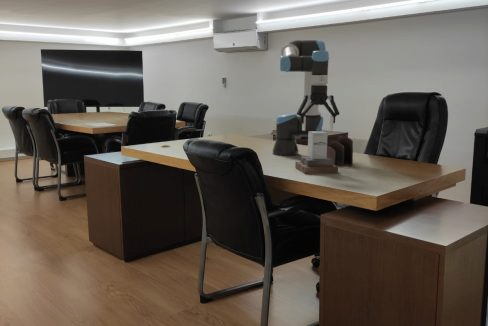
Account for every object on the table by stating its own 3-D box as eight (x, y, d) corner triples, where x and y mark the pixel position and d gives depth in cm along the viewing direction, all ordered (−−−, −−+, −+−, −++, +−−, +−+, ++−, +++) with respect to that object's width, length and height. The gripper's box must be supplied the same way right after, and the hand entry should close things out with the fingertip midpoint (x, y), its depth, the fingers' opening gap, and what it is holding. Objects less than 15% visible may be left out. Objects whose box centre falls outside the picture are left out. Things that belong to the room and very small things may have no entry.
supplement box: (311, 159, 223) (312, 132, 221) (307, 157, 230) (308, 131, 228) (326, 159, 224) (328, 132, 222) (321, 156, 232) (322, 130, 229)
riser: (295, 167, 235) (295, 155, 234) (326, 167, 237) (326, 155, 236) (304, 174, 219) (305, 161, 218) (337, 173, 222) (338, 160, 221)
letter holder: (339, 160, 261) (340, 134, 259) (352, 166, 242) (354, 138, 240) (321, 160, 260) (322, 134, 257) (333, 166, 240) (335, 139, 238)
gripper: (295, 84, 216) (294, 131, 220) (347, 85, 220) (345, 130, 224) (291, 84, 223) (289, 129, 227) (341, 84, 227) (339, 129, 231)
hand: (317, 130), depth 225 cm, fingers open, 13 cm apart
